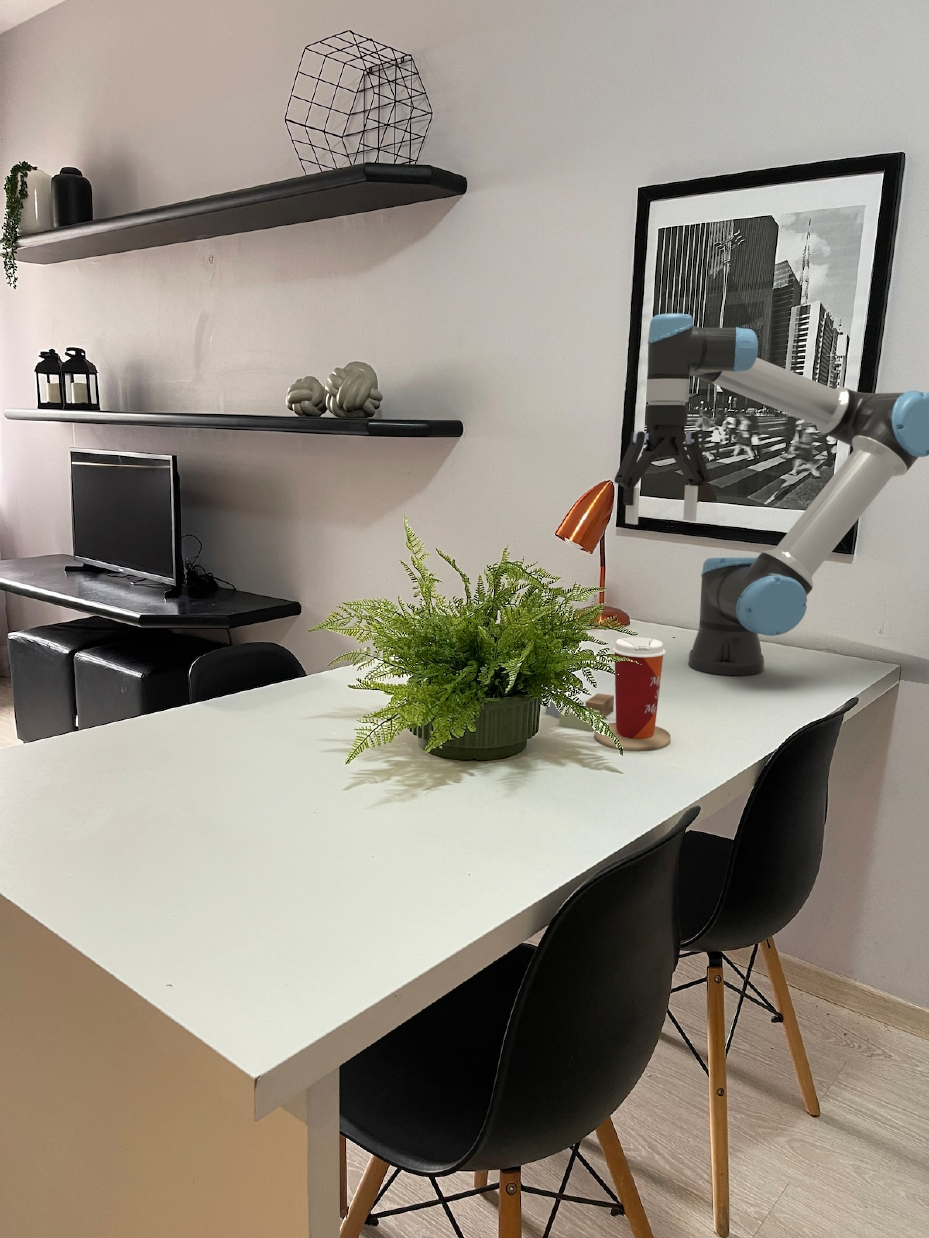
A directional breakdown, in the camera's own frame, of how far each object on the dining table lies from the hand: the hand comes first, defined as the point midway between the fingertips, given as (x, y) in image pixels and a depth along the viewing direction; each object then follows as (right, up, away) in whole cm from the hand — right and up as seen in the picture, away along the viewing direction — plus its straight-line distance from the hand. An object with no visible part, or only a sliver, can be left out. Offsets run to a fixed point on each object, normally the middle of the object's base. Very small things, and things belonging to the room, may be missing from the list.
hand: (661, 522), depth 174 cm
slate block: (-19, -35, -11) cm, 41 cm away
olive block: (-17, -36, -17) cm, 43 cm away
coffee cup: (-9, -36, -22) cm, 44 cm away
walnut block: (-13, -35, -10) cm, 38 cm away
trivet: (-9, -37, -23) cm, 44 cm away
